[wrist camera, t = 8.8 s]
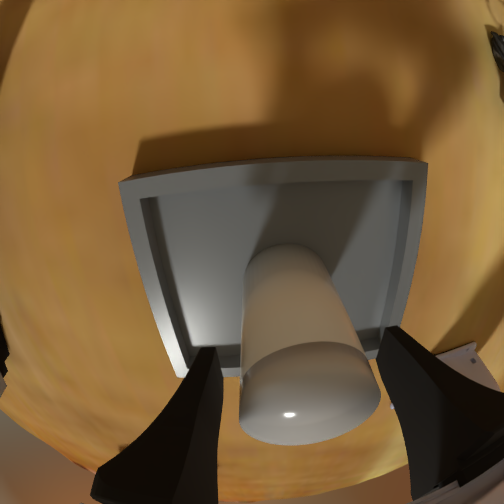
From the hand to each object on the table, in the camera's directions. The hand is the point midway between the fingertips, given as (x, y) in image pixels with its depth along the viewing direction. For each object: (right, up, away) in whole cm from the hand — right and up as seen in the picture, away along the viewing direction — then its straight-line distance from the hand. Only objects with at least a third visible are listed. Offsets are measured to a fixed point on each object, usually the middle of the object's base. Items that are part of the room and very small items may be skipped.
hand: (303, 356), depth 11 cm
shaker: (0, +3, +5) cm, 6 cm away
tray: (0, +3, +6) cm, 7 cm away
